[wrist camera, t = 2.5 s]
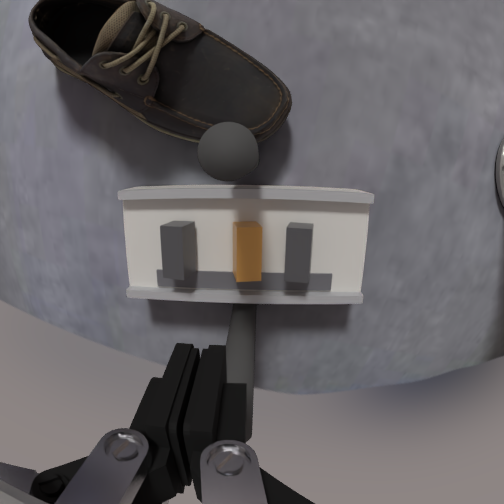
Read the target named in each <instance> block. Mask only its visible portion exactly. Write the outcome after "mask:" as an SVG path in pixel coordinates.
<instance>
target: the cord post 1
mask: <svg viewBox="0 0 504 504" xmlns="http://www.w3.org/2000/svg"><path fill="white" fill-rule="evenodd" d="M198 159H199V162H200V165H201V167H202V168H203V170H204V171H205V172H206V173H207V174H208V175H210V176H211V177H213V178H215V179H217V180H221V181H234V180H237V179H240V178H242V177H244V176H245V175H247V174H248V173H250V172H251V171H253V170H254V169H256V167H257V166H258V164H259V153H258V145H257V142H256V139H255V137H254V135H253V134H252V133H251V131H250V130H249V129H247V128H246V127H245V126H243V125H241V124H238V123H235V122H222V123H218V124H216V125H214V126H212V127H210V128H209V129H208V130H207V131H206V132H205V133H204V134H203V136H202V137H201V139H200V142H199V145H198Z"/></svg>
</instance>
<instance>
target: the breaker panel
mask: <svg viewBox="0 0 504 504" xmlns="http://www.w3.org/2000/svg"><path fill="white" fill-rule="evenodd" d="M118 200H123V213H124V229H125V242H126V253H127V264H128V273H129V282H130V286H129V287H128V288H127V289H126V292H127V298H141V299H157V300H174V301H194V302H219V303H252V304H362V302H363V295H362V293H361V292H360V291H361V284H362V276H363V268H364V260H365V251H366V241H367V231H368V219H369V206H370V204H374V194H371V193H368V192H364V191H361V190H357V189H342V188H325V187H303V186H274V185H168V186H139V187H134V188H129V189H125V190H120V191H118ZM174 220H175V221H195V247H196V272H194V273H193V274H192V275H191V276H189V277H188V278H187V279H186V280H177V279H169V278H163V269H162V255H161V238H160V226H161V225H163V224H166V223H169V222H171V221H174ZM245 221H256V222H257V223H259V224H260V225H261V226H262V270H261V281H248V282H236V279H235V277H234V274H233V222H245ZM290 222H297V223H311V224H314V227H313V244H312V259H311V272H310V278H309V283H299V282H287V281H284V271H285V249H286V227H287V226H288V224H289V223H290Z"/></svg>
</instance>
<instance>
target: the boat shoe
mask: <svg viewBox="0 0 504 504" xmlns="http://www.w3.org/2000/svg"><path fill="white" fill-rule="evenodd" d="M29 26H30V28H31V31H32V34H33V35H34V41H35V42H36V43H37V45H38V46H39V47H40V48H41V49H42V51H43V53H44V55H45V56H46V57H47V58H48V59H49V60H51V62H52V63H53V64H54V65H55V66H56V67H57V68H58V69H59V70H61V71H62V72H64V73H66V74H68V75H71V76H73V77H75V78H77V79H80V80H82V81H84V82H86V83H88V84H89V85H91V86H93V87H94V88H96V89H97V90H99V91H100V92H102V93H104V94H105V95H106V96H108V97H109V98H111V99H112V100H114V101H115V102H116V103H118V104H119V105H121V106H122V107H123V108H125V109H126V110H127V111H129V112H130V113H131V114H133V115H134V116H135V117H137V118H138V119H140V120H141V121H142V122H144V123H145V124H147V125H149V126H150V127H152V128H154V129H156V130H158V131H160V132H162V133H165V134H168V135H170V136H174V137H177V138H180V139H184V140H188V141H192V142H197V143H199V142H200V139H201V137H202V136H203V134H204V133H205V132H206V131H207V130H208V129H209V128H210V127H212V126H214V125H216V124H218V123H222V122H235V123H238V124H241V125H243V126H245V127H246V128H247V129H249V130H250V131H251V133H252V134H253V135H254V137H255V139H256V142H257V143H258V142H261V141H264V140H266V139H267V138H269V137H270V136H272V135H273V134H274V133H275V132H276V131H277V130H278V129H279V128H280V127H281V125H282V124H283V123H284V121H285V120H286V118H287V116H288V114H289V112H290V110H291V106H292V99H291V94H290V91H289V89H288V88H287V87H286V85H285V84H284V83H283V82H282V81H281V80H280V79H279V78H278V77H277V76H276V75H275V74H274V73H273V72H272V71H271V70H269V69H268V68H267V67H266V66H264V65H263V64H262V63H260V62H259V61H257V60H256V59H254V58H253V57H252V56H250V55H248V54H247V53H245V52H244V51H242V50H241V49H239V48H237V47H236V46H234V45H233V44H231V43H230V42H228V41H226V40H225V39H223V38H222V37H220V36H219V35H217V34H215V33H213V32H212V31H210V30H207V29H205V28H204V26H202V25H201V24H200V23H198V22H196V21H195V20H193V19H191V18H189V17H187V16H185V15H183V14H181V13H179V12H177V11H174V10H172V9H170V8H167V7H166V6H164V5H162V4H160V3H158V2H156V1H154V0H39V1H38V2H37V3H36V5H35V6H34V7H33V9H32V10H31V12H30V15H29Z"/></svg>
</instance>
